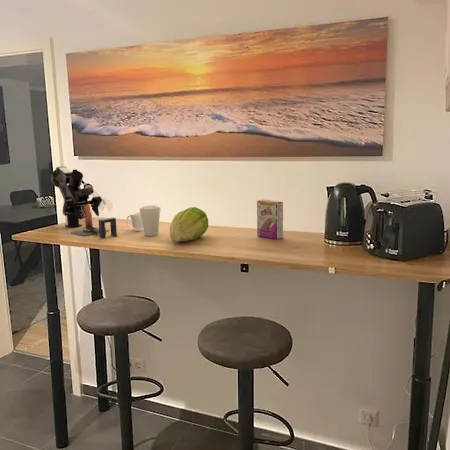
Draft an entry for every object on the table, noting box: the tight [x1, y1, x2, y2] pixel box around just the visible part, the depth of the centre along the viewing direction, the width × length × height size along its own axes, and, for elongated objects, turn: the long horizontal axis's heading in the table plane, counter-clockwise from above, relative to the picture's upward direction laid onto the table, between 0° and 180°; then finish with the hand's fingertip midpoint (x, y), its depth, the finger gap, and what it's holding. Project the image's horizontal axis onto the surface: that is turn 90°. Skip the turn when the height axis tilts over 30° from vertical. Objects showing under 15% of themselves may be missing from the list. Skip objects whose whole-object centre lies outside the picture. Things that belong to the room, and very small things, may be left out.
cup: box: [126, 212, 144, 232], centre depth 237 cm, size 7×10×8 cm
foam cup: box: [139, 204, 161, 237], centre depth 226 cm, size 10×9×13 cm
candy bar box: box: [256, 198, 284, 241], centre depth 214 cm, size 11×5×16 cm, turn 47°
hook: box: [82, 204, 107, 235], centre depth 231 cm, size 17×6×13 cm, turn 45°
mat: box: [70, 227, 110, 237], centre depth 236 cm, size 12×14×1 cm
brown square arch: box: [97, 217, 118, 239], centre depth 223 cm, size 2×8×8 cm, turn 135°
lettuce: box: [169, 206, 209, 242], centre depth 213 cm, size 14×24×15 cm
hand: (90, 217), depth 233 cm, fingers open, 9 cm apart
